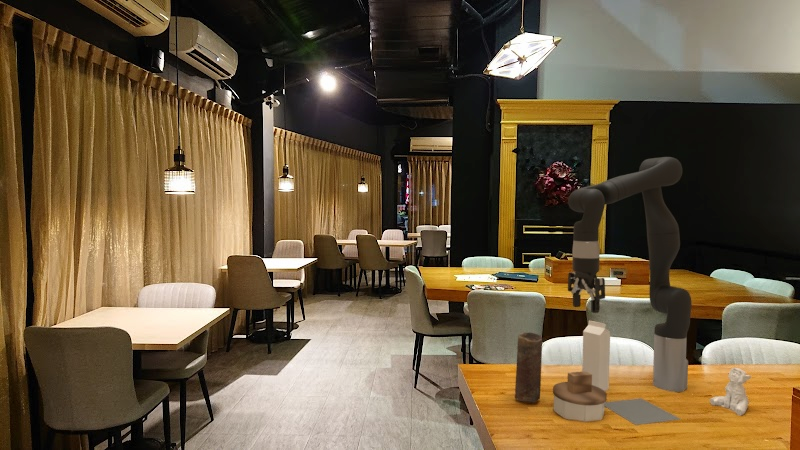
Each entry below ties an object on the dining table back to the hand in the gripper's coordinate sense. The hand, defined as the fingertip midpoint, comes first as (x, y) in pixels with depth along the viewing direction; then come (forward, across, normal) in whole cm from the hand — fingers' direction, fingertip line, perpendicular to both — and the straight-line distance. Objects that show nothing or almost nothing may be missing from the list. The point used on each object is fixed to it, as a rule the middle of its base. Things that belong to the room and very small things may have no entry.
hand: (585, 309), depth 146 cm
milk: (+28, +7, -9) cm, 31 cm away
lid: (+23, -6, +7) cm, 25 cm away
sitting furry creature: (+29, -15, -40) cm, 52 cm away
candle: (+28, +5, +17) cm, 33 cm away
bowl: (+28, -6, +7) cm, 29 cm away
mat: (+28, -11, -10) cm, 32 cm away
